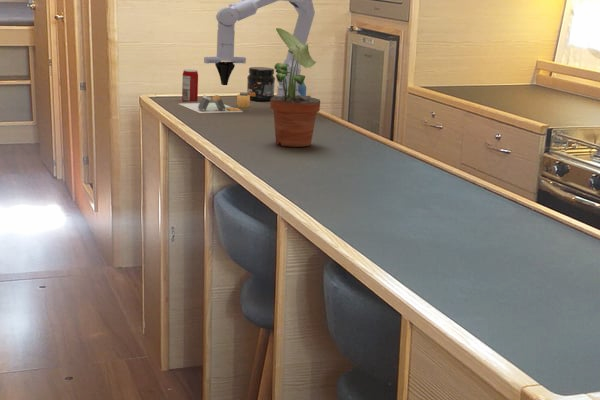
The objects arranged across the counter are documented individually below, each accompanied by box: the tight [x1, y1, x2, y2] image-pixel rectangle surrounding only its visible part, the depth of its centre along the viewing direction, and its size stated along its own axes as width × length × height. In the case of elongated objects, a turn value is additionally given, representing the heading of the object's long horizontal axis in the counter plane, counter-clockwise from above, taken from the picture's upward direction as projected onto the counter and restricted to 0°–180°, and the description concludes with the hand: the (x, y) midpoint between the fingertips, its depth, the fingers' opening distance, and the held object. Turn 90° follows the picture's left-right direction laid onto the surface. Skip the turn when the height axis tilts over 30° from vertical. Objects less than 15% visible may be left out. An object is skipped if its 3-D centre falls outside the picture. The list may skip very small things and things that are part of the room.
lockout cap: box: [236, 91, 251, 108], centre depth 313 cm, size 4×4×6 cm
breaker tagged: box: [211, 94, 225, 111], centre depth 301 cm, size 4×2×5 cm, turn 28°
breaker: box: [198, 94, 212, 111], centre depth 299 cm, size 4×2×5 cm, turn 28°
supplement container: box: [246, 66, 276, 103], centre depth 338 cm, size 10×10×12 cm
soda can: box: [181, 69, 199, 103], centre depth 321 cm, size 6×6×12 cm
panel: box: [179, 102, 244, 114], centre depth 307 cm, size 20×16×2 cm
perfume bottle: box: [298, 81, 307, 96], centre depth 335 cm, size 6×6×12 cm
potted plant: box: [269, 27, 321, 148], centre depth 251 cm, size 16×15×35 cm
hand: (224, 84), depth 300 cm, fingers closed
